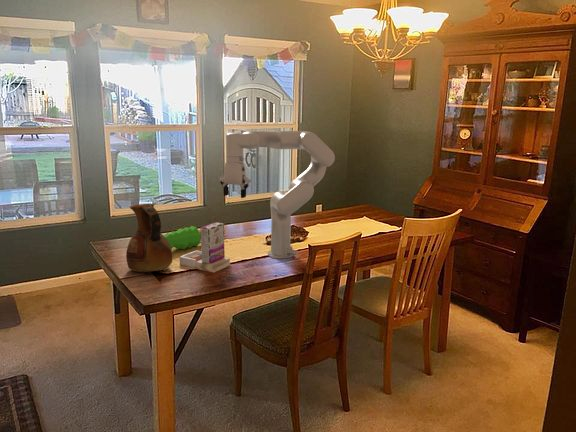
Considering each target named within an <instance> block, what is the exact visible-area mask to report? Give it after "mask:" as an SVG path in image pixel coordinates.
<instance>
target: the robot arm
mask: <svg viewBox="0 0 576 432" xmlns="http://www.w3.org/2000/svg"><path fill="white" fill-rule="evenodd" d="M225 147H226V148H225V150H226V151H225V153H226V154H225V156H226V159H225V160H226V161H225V162H224V169H223V174H222V175H220V176H218V179H219V183H220V185H221V186H222V188H223V189H222V190H223V196H224V197H226V196H228V195H230V192H229V191H230V188H229V185H235V186H239V187H240V188H241V190H240V198H241V199H244V198H246V197H247V189H248V187H250V184H251V183H252V180H251V179H250V178H248V177H247V171H246V169H247V168H246V165H245V160H246V159H245V158H244V157H243V156H244V155H243V154H244V152H243V151H244V149H246V150H247V149H248V150H255V149H257V148H270V149H275V150H305V151H306V152H307V153H308V154H309V155H310V164H309V165H308V167H307V169H306V170H304V171H303V172H302V173H301V174H299V175H298V176H297V177H296V178H294V179H293V180H291V182H289V186H288V190H289V191H287V192H285V191H281V190H279V191H277V192H274V193H273V194H272V196H271V198H270V200H269V201H270V202H269V203H270V204H269V205H270V215H271V216H270V217H271V218H270V220H271V221H270V223H271V224H270V225H271V226H270V250H269V251H268V252H267V256H268V257H270V258H272V259H278V260H279V259H281V260H282V259H290V258H292V257H293V256H296V255H297V254H298V252H297V251H298V250H297V249H293V246H292V245H291V234H292V233H291V231H292V230H291V228H292V227H291V225H292V214H293V213H296V211H298V210H299V209H300V208H301V207H303V206H304V205H305V204H306V203H308V201H310V200H311V199H312V197H313V195H314V193H315V189H314V187H315V186H316V185H317V184H319V183H320V182H321V180H322V179H323V178H324V176H325V174H326V171H327V167H330V166H332V165H333V164H334V162H335V160H336V158H335V157H336V156H335V153H334V151H333V150H332V149H331V148H330V147H329V146H328V145H327V144H326V143H325V142H324V141H323V140H322V139H321V138H320V137H319V136H318V135H317V134H316V133H314V132H311V131H308V130H307V131H306V130H272V131H268V130H267V131H263V130H262V131H260V130H259V131H256V130H255V131H253V130H252V131H245V132H243V133H241V132H227V134H226V135H225Z"/></svg>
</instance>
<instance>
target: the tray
mask: <svg viewBox="0 0 576 432" xmlns="http://www.w3.org/2000/svg"><path fill="white" fill-rule="evenodd" d="M201 252H202V250H194V251H192V252H191V251H190V252H188V253H186V254H183V255H180V256H179V257H178V258H179V266H182V267H187V268H192V269H196V259H191V258H190V257H191V256H194V255H198V253H201Z"/></svg>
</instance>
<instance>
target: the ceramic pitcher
mask: <svg viewBox="0 0 576 432" xmlns="http://www.w3.org/2000/svg"><path fill="white" fill-rule="evenodd" d="M154 206H155V203H140V204H138V203H137V204H133V205H131V206H129V209H130V210H132V211H133V212H134V214H135V216H136V217H135V218H136V221H137V230H136V232H135V233H134V234H133V235H132V236H131V238H130V240H129V241H128V244H127V247H126V255H125V257H126V264H127V266H128V269H129V270H132V271H134V272H141V273H142V272H143V273H145V272H147V273H148V272H156V271H164V270H166V269H167V270H168V268H169V267H170V266H171V264H172V262H173V251H172V249H171V247H170V244H169V242H168V241H167V239H166V238H165V237H164V235H163V234H162V233H161V230H162V229H161V227H162V222H161V218H160V214H159V212H158V210H156V208H155V207H154Z"/></svg>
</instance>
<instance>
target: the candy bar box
mask: <svg viewBox="0 0 576 432" xmlns="http://www.w3.org/2000/svg"><path fill="white" fill-rule="evenodd" d="M224 224H225V223H223V222H218V221H217V222H213V223H210V224H207V225H204V226H202V227H200V231H201V242H200V243H201V244H200V245H201V246H200V247H201V248H200V249H201V251H202V262H203V263H208V264H211V263H214V262H216V261H218V260H220V259H223V258H226V257H225V225H224Z"/></svg>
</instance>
